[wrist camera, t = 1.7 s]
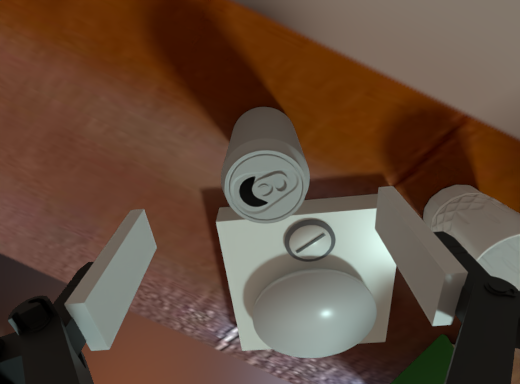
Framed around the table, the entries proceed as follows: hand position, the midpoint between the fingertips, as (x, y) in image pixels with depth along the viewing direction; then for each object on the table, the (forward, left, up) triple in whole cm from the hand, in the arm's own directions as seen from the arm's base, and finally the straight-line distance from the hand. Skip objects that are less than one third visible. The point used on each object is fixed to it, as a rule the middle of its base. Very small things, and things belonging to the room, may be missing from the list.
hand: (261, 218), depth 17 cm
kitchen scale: (-4, +19, -16) cm, 25 cm away
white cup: (-21, +11, -16) cm, 29 cm away
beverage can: (0, 0, -16) cm, 16 cm away
